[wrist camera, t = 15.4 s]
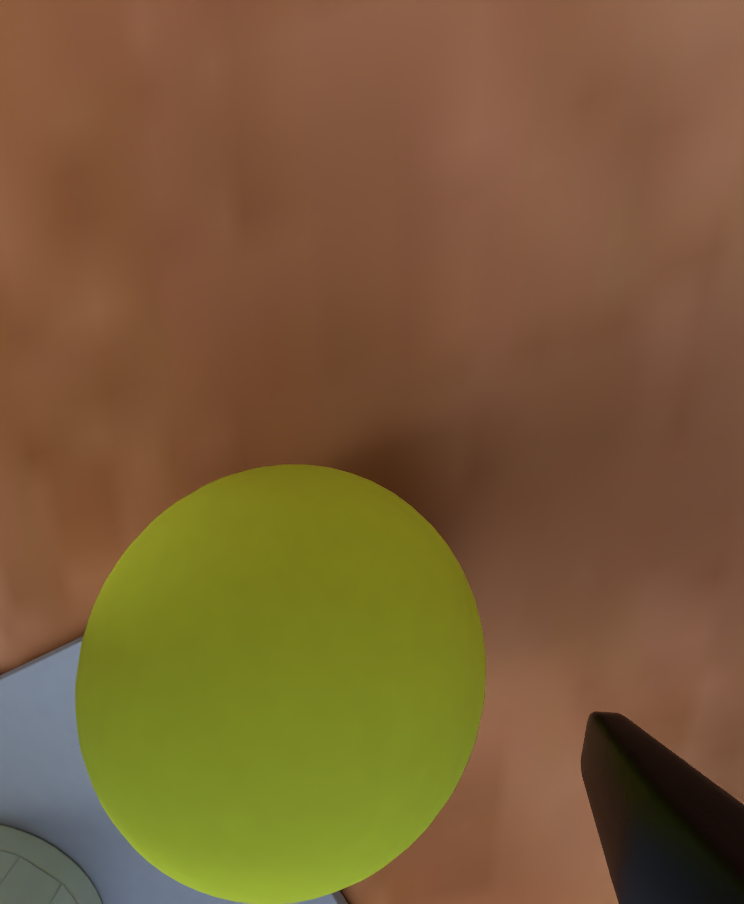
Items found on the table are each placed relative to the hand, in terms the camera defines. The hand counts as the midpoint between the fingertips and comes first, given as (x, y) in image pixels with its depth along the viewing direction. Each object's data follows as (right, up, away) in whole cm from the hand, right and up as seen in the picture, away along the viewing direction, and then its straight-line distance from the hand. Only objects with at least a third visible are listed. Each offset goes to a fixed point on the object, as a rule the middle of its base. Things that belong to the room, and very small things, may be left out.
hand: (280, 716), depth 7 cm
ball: (0, +1, +5) cm, 5 cm away
